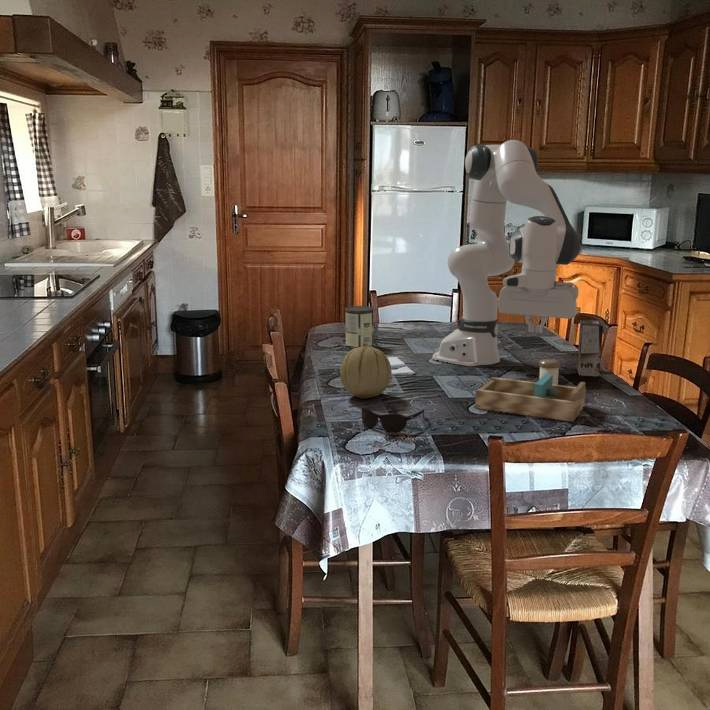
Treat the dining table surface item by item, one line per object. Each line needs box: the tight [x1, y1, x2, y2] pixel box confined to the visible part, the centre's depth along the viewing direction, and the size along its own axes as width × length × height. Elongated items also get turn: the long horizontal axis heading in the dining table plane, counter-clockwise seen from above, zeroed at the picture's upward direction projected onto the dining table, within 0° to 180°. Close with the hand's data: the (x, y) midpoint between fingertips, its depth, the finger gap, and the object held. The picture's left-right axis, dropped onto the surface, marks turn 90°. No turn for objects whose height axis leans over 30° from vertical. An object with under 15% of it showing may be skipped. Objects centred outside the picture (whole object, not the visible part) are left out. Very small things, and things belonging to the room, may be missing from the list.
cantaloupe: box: [339, 343, 393, 399], centre depth 220 cm, size 15×15×15 cm
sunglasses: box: [361, 402, 425, 433], centre depth 200 cm, size 14×16×5 cm
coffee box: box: [576, 319, 604, 377], centre depth 245 cm, size 9×6×16 cm
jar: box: [538, 358, 561, 385], centre depth 225 cm, size 6×6×9 cm
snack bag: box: [386, 356, 416, 374], centre depth 252 cm, size 19×20×2 cm
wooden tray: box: [474, 376, 587, 422], centre depth 211 cm, size 26×15×7 cm, turn 63°
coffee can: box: [344, 305, 375, 347], centre depth 282 cm, size 10×10×14 cm
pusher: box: [534, 374, 559, 399], centre depth 209 cm, size 5×12×7 cm, turn 153°
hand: (535, 332), depth 207 cm, fingers closed
